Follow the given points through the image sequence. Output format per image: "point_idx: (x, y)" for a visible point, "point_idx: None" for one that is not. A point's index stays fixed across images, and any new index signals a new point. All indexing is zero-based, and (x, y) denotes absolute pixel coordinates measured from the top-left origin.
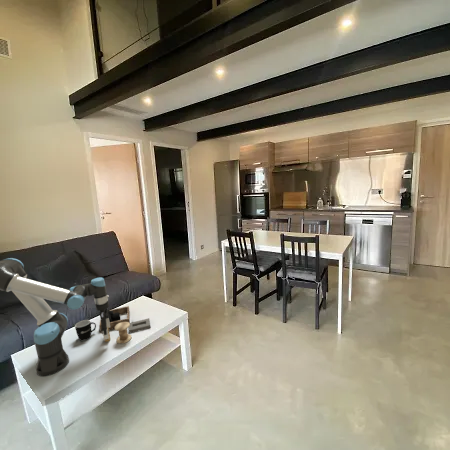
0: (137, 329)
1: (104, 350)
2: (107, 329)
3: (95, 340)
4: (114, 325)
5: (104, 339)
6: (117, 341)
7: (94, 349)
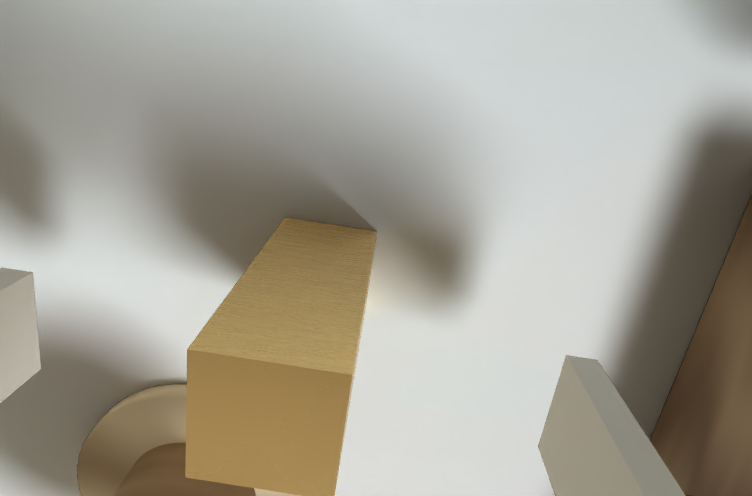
0: None
1: (5, 187)
2: (196, 459)
3: (476, 43)
4: (695, 469)
5: (2, 276)
6: (140, 407)
7: (118, 9)
